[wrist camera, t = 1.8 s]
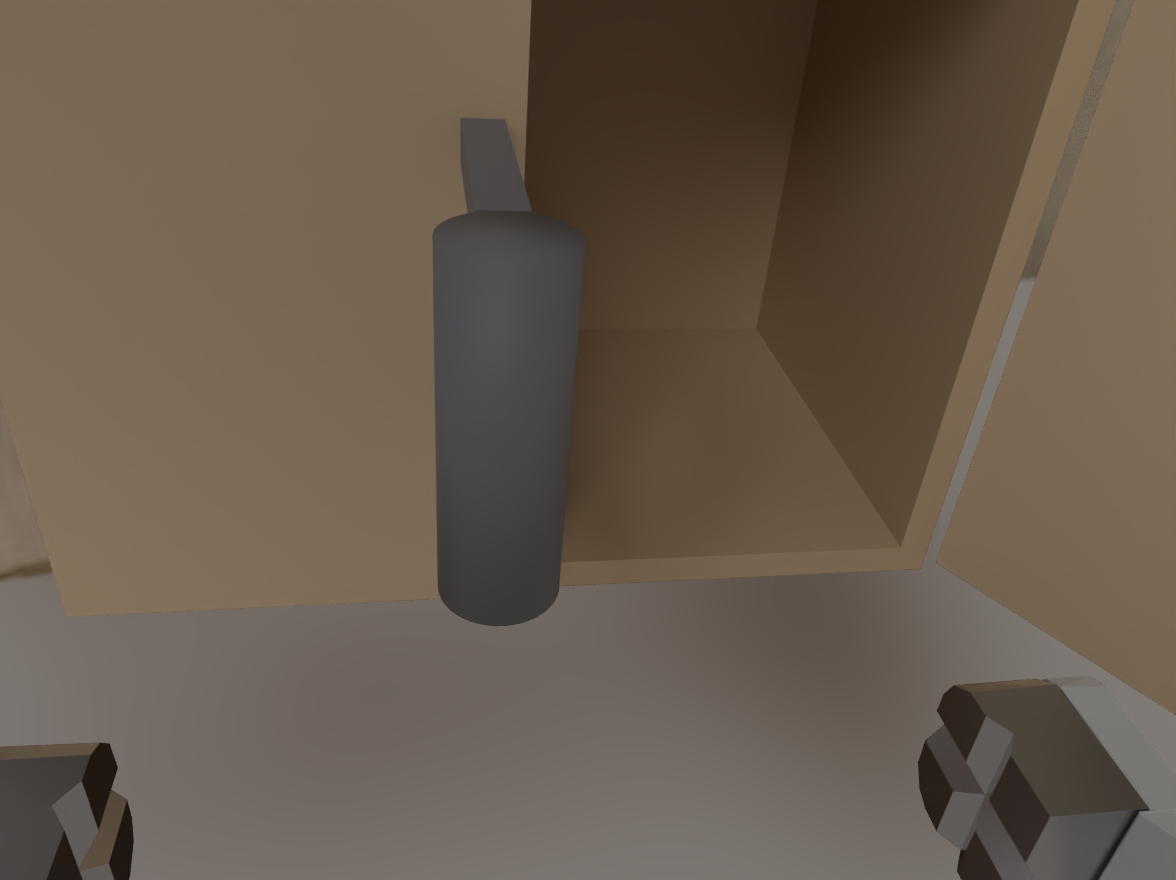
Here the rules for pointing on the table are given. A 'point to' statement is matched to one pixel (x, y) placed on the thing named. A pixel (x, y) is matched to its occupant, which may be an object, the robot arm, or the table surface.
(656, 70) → the carton
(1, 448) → the table surface
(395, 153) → the flap
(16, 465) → the table surface
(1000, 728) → the robot arm
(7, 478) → the table surface
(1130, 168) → the flap
